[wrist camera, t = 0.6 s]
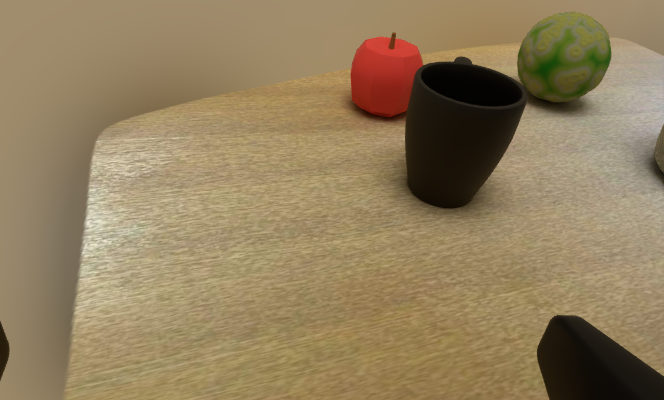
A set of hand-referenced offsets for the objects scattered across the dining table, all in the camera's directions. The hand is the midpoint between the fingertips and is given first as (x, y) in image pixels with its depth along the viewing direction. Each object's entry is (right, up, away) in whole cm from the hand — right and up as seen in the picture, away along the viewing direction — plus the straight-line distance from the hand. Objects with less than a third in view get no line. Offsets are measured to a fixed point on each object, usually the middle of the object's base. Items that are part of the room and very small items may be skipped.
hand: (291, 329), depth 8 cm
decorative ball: (+27, +14, +51) cm, 59 cm away
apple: (+6, +12, +44) cm, 46 cm away
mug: (+10, +4, +34) cm, 36 cm away
